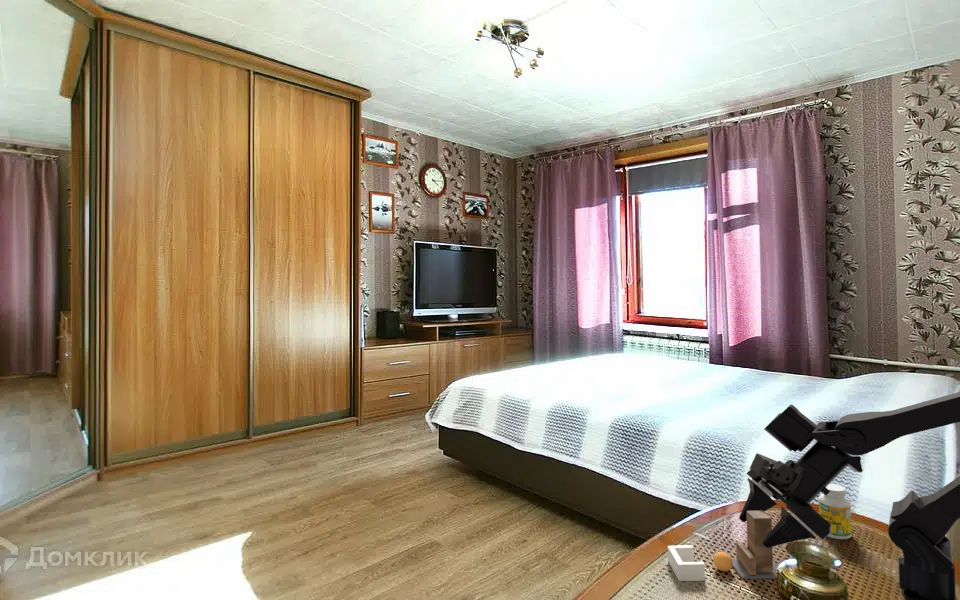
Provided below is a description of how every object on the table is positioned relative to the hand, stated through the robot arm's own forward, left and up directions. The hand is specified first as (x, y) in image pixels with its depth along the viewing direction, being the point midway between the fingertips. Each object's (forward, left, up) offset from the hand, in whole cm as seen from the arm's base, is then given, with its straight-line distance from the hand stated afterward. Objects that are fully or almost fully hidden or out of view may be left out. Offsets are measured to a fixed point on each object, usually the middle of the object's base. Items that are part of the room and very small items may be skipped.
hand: (752, 532), depth 93 cm
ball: (+5, +3, -5) cm, 8 cm away
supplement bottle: (-12, -22, -7) cm, 26 cm away
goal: (+10, +7, -7) cm, 14 cm away
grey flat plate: (0, 0, -7) cm, 7 cm away
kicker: (0, 0, -6) cm, 6 cm away
